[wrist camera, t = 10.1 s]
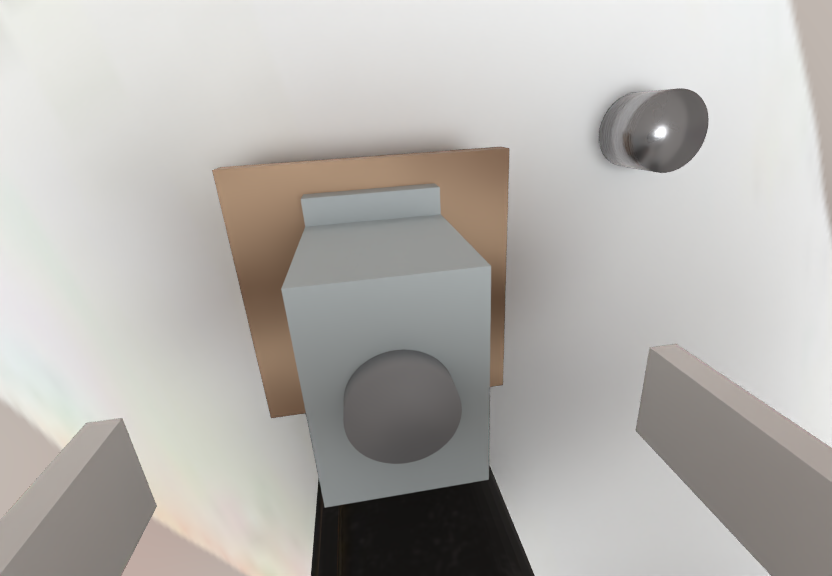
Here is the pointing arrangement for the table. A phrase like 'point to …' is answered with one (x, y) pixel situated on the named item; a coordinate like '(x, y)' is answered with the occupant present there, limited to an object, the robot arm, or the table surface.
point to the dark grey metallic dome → (654, 129)
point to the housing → (390, 343)
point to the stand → (287, 182)
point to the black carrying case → (420, 535)
